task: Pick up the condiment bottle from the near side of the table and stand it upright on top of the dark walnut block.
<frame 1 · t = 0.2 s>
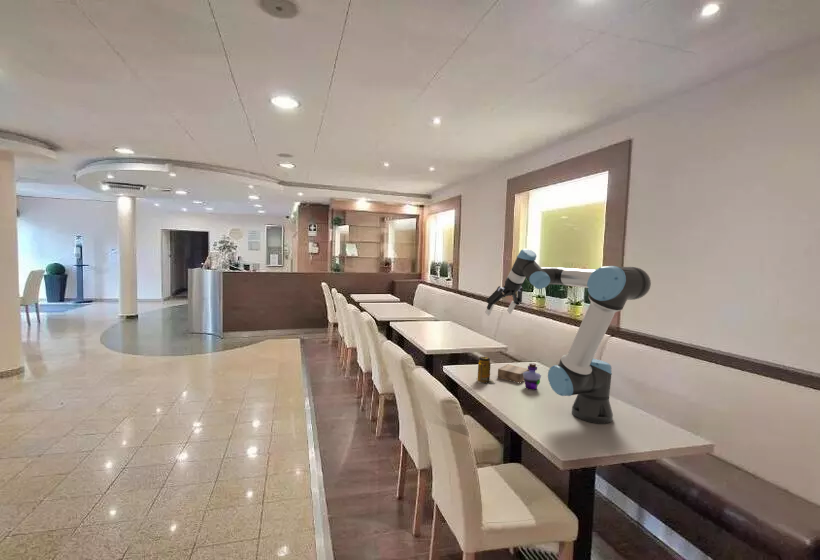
hand: (498, 313, 196), 35 cm above the table, tool tilted 35°, fingers open, 13 cm apart
condiment: (485, 381, 198), on the table
potion bottle: (531, 388, 191), on the table
walnut block: (513, 378, 206), on the table
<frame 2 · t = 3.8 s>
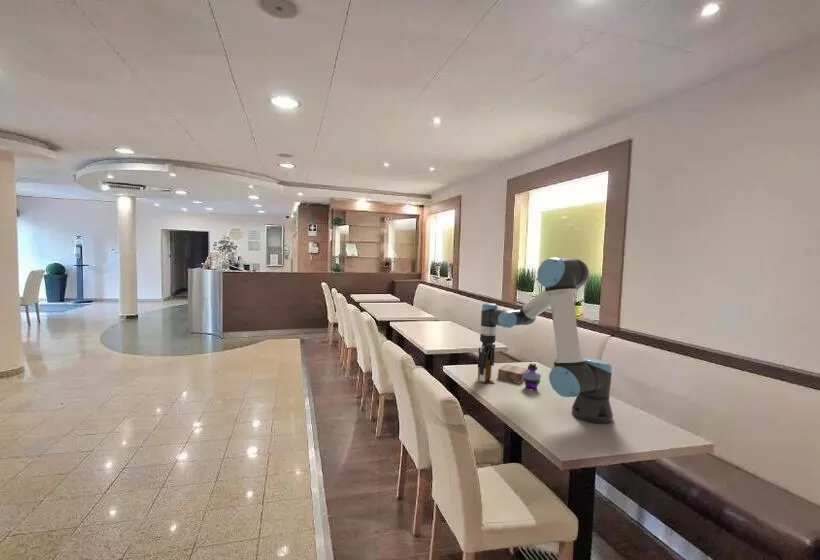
hand: (485, 379, 198), 1 cm above the table, tool pointing down, fingers closed on condiment, 6 cm apart
condiment: (485, 381, 198), on the table, touching gripper
everything else where it was.
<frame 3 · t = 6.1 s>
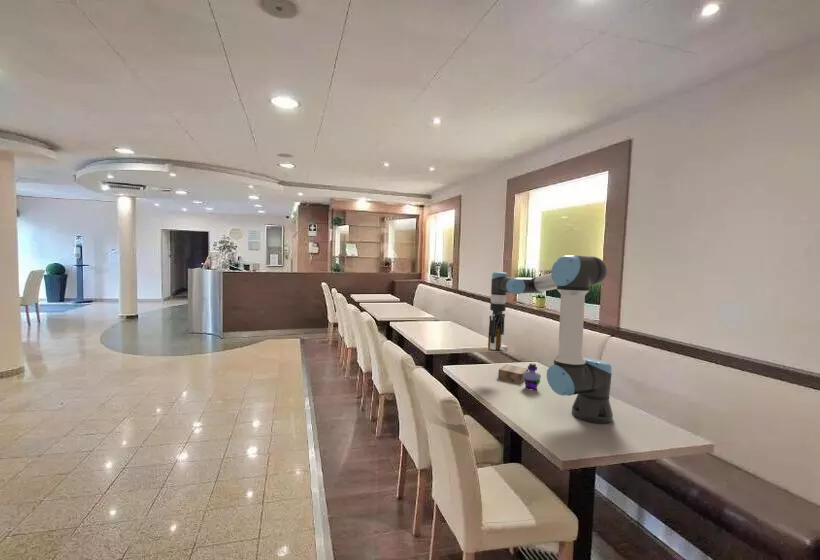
hand: (495, 348, 199), 17 cm above the table, tool pointing down, fingers closed on condiment, 6 cm apart
condiment: (495, 350, 199), point 15 cm above the table, touching gripper
everything else where it was.
when the fingers open (7 cm above the table, at t = 8.7 s): condiment drops 2 cm, resting on walnut block.
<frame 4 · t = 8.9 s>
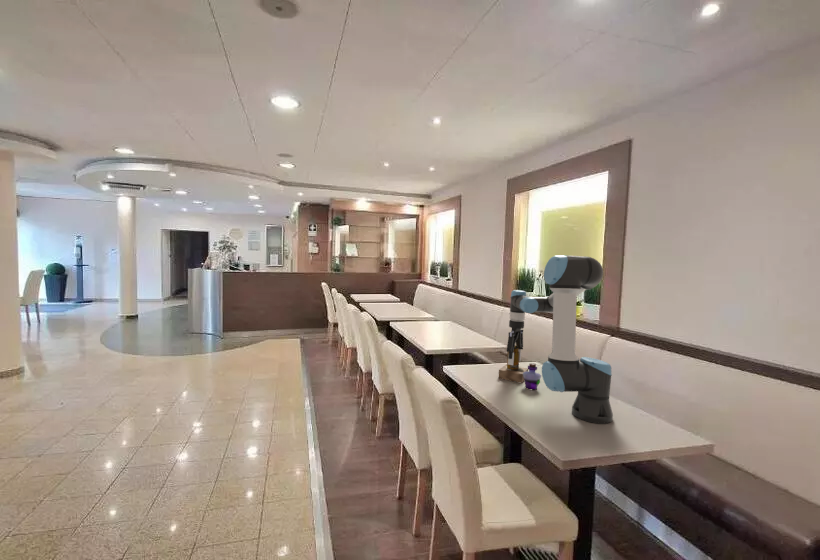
hand: (514, 362, 205), 8 cm above the table, tool pointing down, fingers open, 8 cm apart
condiment: (514, 369, 205), point 4 cm above the table, touching walnut block
walnut block: (513, 378, 206), on the table, touching condiment
everything else where it was.
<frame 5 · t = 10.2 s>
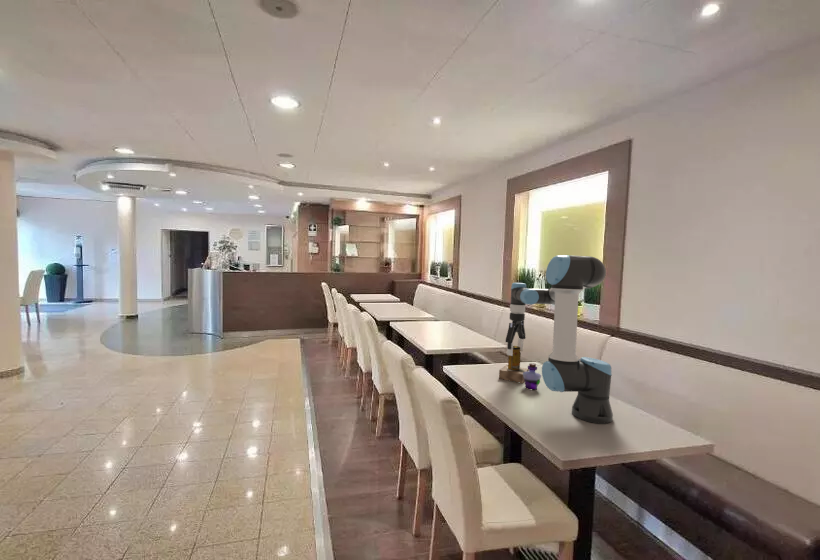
hand: (515, 353, 204), 13 cm above the table, tool pointing down, fingers open, 13 cm apart
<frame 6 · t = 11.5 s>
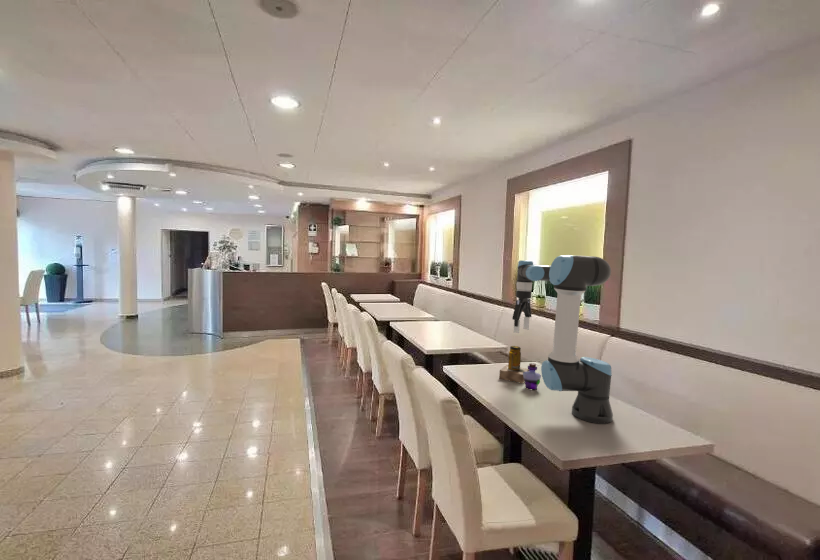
hand: (521, 331, 204), 25 cm above the table, tool pointing down, fingers open, 13 cm apart
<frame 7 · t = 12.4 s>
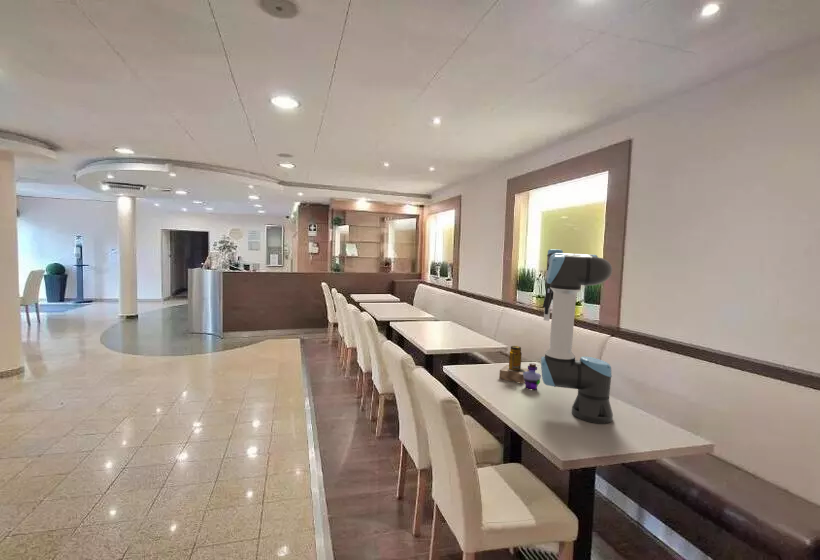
hand: (550, 319, 207), 31 cm above the table, tool pointing down, fingers open, 13 cm apart
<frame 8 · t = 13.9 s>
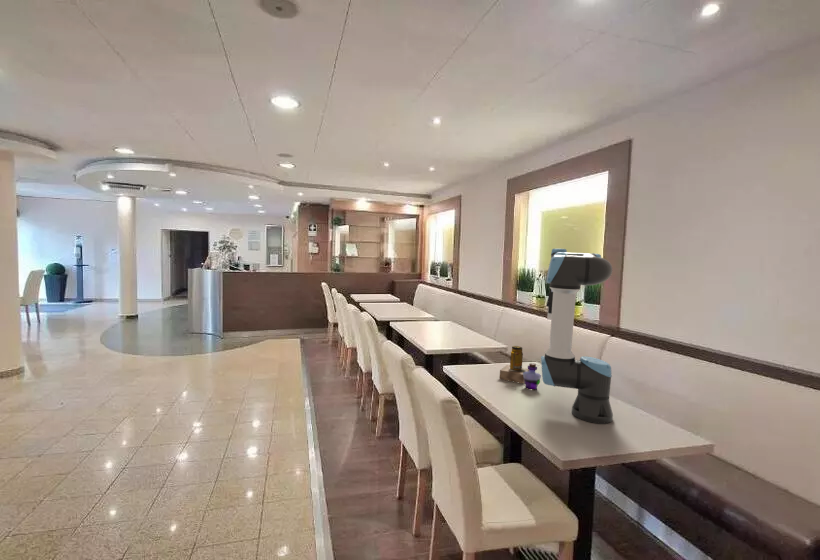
hand: (554, 318, 207), 32 cm above the table, tool pointing down, fingers open, 13 cm apart
at the end: condiment inside the target area on the walnut block (1.2 cm from its centre), point 4.8 cm above the walnut block's base; condiment tilted 0°; the gripper is holding nothing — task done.
